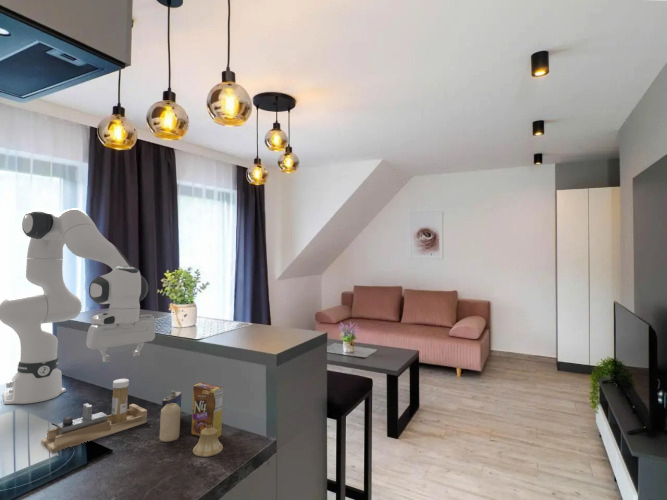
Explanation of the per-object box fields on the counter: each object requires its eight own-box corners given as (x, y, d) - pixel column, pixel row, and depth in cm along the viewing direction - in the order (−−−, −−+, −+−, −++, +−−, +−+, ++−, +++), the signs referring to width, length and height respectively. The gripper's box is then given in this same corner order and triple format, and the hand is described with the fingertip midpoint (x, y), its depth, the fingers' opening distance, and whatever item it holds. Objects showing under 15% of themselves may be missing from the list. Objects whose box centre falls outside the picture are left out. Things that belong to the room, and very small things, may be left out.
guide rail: (41, 443, 107) (42, 428, 107) (133, 415, 128) (133, 403, 128) (52, 453, 102) (53, 438, 102) (146, 422, 123) (147, 410, 123)
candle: (169, 443, 110) (171, 409, 110) (155, 439, 111) (157, 406, 112) (183, 435, 115) (184, 402, 115) (169, 432, 117) (170, 400, 117)
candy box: (190, 434, 115) (192, 385, 116) (200, 429, 119) (202, 381, 120) (211, 441, 112) (214, 390, 112) (221, 435, 116) (224, 386, 116)
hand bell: (207, 440, 112) (210, 386, 113) (229, 447, 109) (231, 391, 109) (186, 452, 105) (188, 395, 105) (208, 459, 101) (211, 400, 102)
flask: (175, 417, 128) (177, 385, 128) (183, 418, 128) (184, 386, 128) (159, 428, 119) (160, 394, 119) (167, 429, 118) (169, 395, 119)
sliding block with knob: (56, 438, 108) (57, 410, 108) (101, 424, 118) (102, 399, 118) (61, 442, 106) (63, 413, 106) (106, 428, 115) (108, 402, 116)
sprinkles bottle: (127, 423, 120) (129, 381, 120) (110, 426, 117) (113, 383, 118) (126, 418, 123) (128, 377, 124) (110, 421, 121) (112, 379, 121)
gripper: (150, 312, 132) (148, 351, 131) (85, 317, 115) (82, 362, 115) (159, 314, 128) (157, 354, 127) (94, 320, 111) (91, 366, 111)
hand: (121, 358), depth 121 cm, fingers open, 8 cm apart
